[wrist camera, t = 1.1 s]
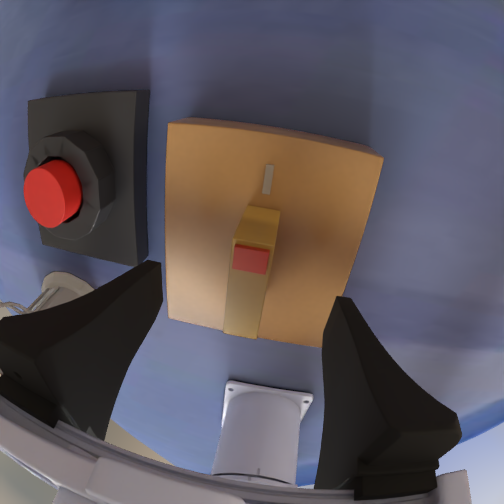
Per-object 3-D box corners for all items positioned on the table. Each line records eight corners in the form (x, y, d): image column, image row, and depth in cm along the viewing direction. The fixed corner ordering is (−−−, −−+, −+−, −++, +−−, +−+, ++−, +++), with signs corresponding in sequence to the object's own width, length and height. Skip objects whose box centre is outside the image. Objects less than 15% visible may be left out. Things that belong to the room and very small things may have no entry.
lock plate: (320, 317, 21) (322, 350, 18) (182, 291, 21) (166, 319, 19) (370, 146, 15) (385, 158, 12) (188, 116, 15) (166, 122, 13)
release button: (85, 219, 16) (68, 232, 14) (45, 212, 16) (28, 223, 15) (81, 160, 14) (61, 169, 13) (39, 158, 14) (20, 166, 13)
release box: (148, 255, 20) (125, 283, 17) (54, 234, 21) (28, 256, 18) (150, 89, 15) (118, 91, 12) (43, 97, 15) (8, 105, 12)
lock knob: (264, 294, 17) (255, 343, 13) (236, 289, 17) (221, 336, 14) (280, 210, 14) (274, 248, 11) (247, 204, 14) (230, 240, 11)
